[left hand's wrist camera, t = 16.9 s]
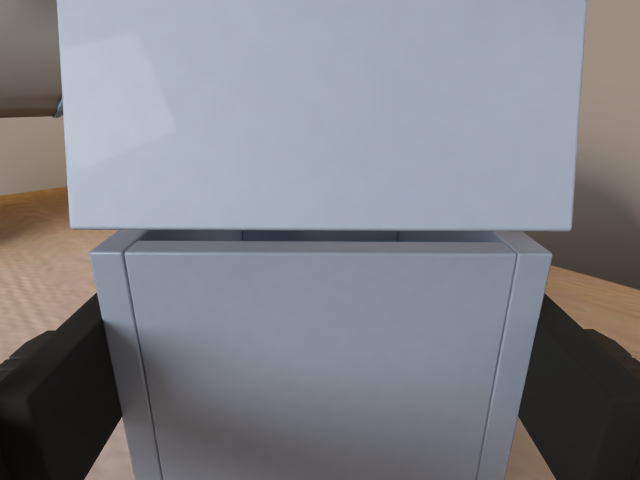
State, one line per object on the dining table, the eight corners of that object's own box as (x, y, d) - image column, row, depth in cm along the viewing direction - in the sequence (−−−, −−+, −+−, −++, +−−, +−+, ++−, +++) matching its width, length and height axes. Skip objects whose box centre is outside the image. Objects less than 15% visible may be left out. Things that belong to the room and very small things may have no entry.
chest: (237, 324, 25) (224, 151, 21) (401, 324, 25) (416, 152, 21) (153, 571, 12) (86, 251, 9) (485, 572, 12) (553, 253, 9)
